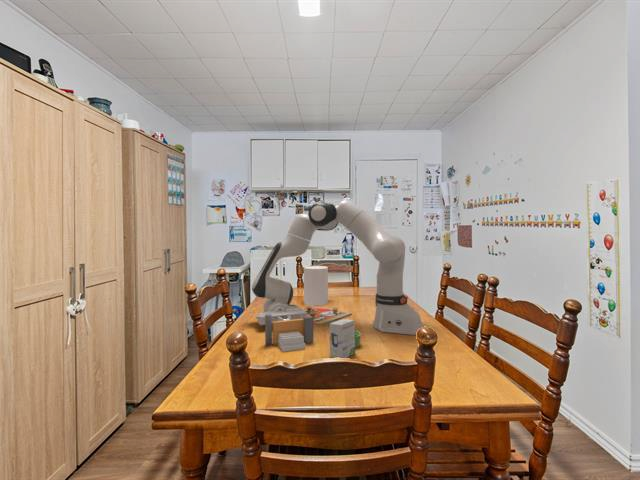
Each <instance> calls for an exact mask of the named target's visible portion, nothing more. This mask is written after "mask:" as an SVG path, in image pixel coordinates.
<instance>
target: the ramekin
mask: <svg viewBox="0 0 640 480" xmlns="http://www.w3.org/2000/svg"><path fill="white" fill-rule="evenodd" d="M361 336H362V333H361V332H360V331H358V330H355V349H356V348H358V347H359V346H360V344H361V343H360V342H361Z"/></svg>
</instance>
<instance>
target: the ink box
mask: <svg viewBox="0 0 640 480" xmlns="http://www.w3.org/2000/svg"><path fill="white" fill-rule="evenodd" d="M328 325H329V330H328V332H329V358H331V357H340V358H346V359H348V358H349V357H352V356H353V355H355V354H356V348H355V331H356V330H355V328H356V327H355V320H353V319H347V318H342V319H340V320H337V321H334V322H332V323H329V324H328Z"/></svg>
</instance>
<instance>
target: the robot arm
mask: <svg viewBox="0 0 640 480" xmlns="http://www.w3.org/2000/svg"><path fill="white" fill-rule="evenodd" d="M338 225H342V226H343V227H345V228H346V230H348V231H349V232H350V233H351V234H352V235H353V236H354V237H356V238H357V239H358V240H359V241H360V243H362V244H363V245H364V247H365V248H366V249H367V250H368V251H369V253H371V254H372V256H373V257H374V258H375V260H376V261H377V262H378V269H377V274H376V293H375V315H374V319H373V322H372V323H373V324H372V327H373V328H375V329H377V330H378V331H379V332H380V333H388V334H389V333H390V334H391V333H392V334H399V335H401V334H402V335H411V336H413V335H414V336H417V335H416V332H417V330H418V329H419V328H421V327H424V326H426V327H427V325H426V324H425V323H422V319H421V315H420V313H419V312H418V311H416V310H415V309H414V308H413V307H411V306H410V304H408V299H409V296H408V295H407V296H406V295H404V291H403V289H404V287H403V285H404V268H405V260H406V258H405V256H406V245H405V242H404V241H403V240H402V238H400V237H399V236H396V235H390V233H389V232H387V231H386V230H385V229H384V228H383V227H382V226H381V225H380V223H379V222H378V221H377V220H376V219H374V218H373V216H371V215H370V214H369V213H368V212H367V211H365V210H364V209H363V208H362V207H360V206H359V205H357V204H356V203H354V202H353V201H351V200H349V199H343V200H341V201H340V202H339V203H337V204H336V205H334V204H333V203H328V202H315V203H313V204H312V205H310V207H309V209H308V214H307V213H299V214H296V216H295V217H294V220H293V221H292V223H291V225H290V226H289V230H288V232H287V235H286V237H285V238H284V239H283V240H282V241H280V242H277V243H276V244H275V245H274V247H273V249H272V250H271V252H270V253H269V255H268V257H267V259H266V260H265V262H264V264H263V266H262V268H261V269H260V272H259V273H258V274H257V276H256V277H255V278H254V280H253V282H252V285H251V291H252V292H253V294H254V295H255V296H256V298H263V299H266V300H264V303H263V305H262V307H263V311H261V312H259V313H258V314H257V315H255V318H256V319H257V321H258V325H261V326H262V325H264V326H265V315H267V314H270V315H272V322H274V321H284V320H294V319H303V316H306V312H305V311H304V310H303V309H301V308H302V307H299V306H298V305H297V304H291V302H292V300H293V297H294V289H293V286H292V284H291V283H290V282H289V281H285V280H281V279H279V278H274V277H271V276H270V275H271V273H272V272H273V269H274V268H275V266H276V265H277V262H278V261H280V260H281V259H284V258H288V257H289V258H290V257H299V256H301V255H303V254H305V253H306V252H307V251H308V248H309V247H310V244H311V241H312V238H313V235H314V233H315V232H316V231H323V232H325V231H333V230H334V229H335V228H337V226H338Z"/></svg>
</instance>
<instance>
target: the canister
mask: <svg viewBox="0 0 640 480" xmlns="http://www.w3.org/2000/svg"><path fill="white" fill-rule="evenodd" d="M303 304H304V305H306V306H316V307H317V306H325V305H328V304H329V268H328V266H325V265H307V266H303Z"/></svg>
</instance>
